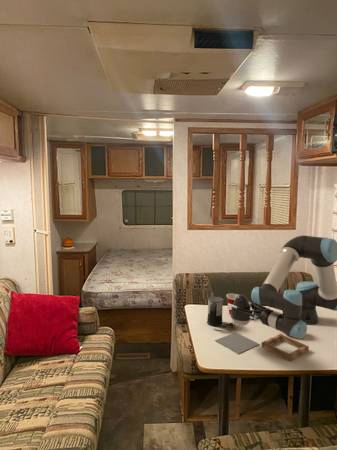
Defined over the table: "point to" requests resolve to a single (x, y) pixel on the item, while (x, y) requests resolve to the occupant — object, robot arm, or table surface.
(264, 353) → the table surface
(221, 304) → the milk frother
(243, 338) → the rubber mat
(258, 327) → the table surface
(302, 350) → the walnut collar
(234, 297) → the plastic cup
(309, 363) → the table surface
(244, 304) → the pump dispenser
